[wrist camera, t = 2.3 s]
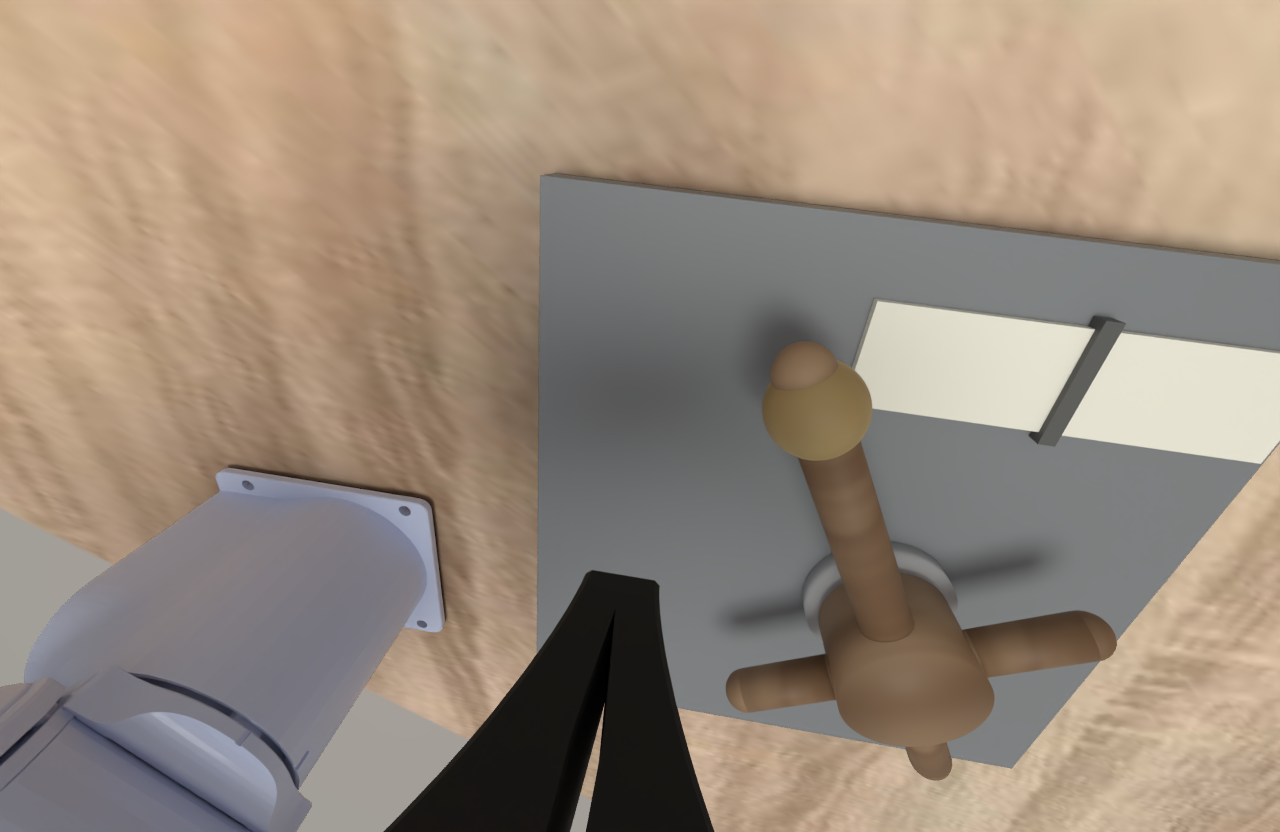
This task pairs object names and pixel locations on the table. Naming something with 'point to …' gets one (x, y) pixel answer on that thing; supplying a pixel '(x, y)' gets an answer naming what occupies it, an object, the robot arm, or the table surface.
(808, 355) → the capstan dial
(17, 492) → the table surface
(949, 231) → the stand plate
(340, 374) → the table surface
